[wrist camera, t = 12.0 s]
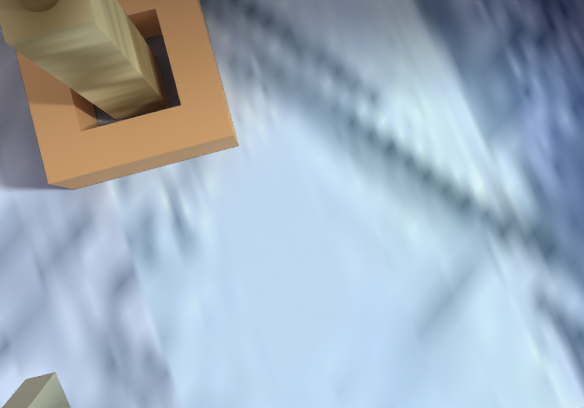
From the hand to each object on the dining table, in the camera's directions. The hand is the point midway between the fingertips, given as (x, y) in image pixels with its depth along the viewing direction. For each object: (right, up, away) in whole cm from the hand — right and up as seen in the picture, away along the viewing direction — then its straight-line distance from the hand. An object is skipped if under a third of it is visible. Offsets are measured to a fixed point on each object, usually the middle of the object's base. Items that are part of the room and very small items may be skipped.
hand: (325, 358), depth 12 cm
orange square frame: (-11, +11, +20) cm, 26 cm away
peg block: (-11, +11, +20) cm, 26 cm away
